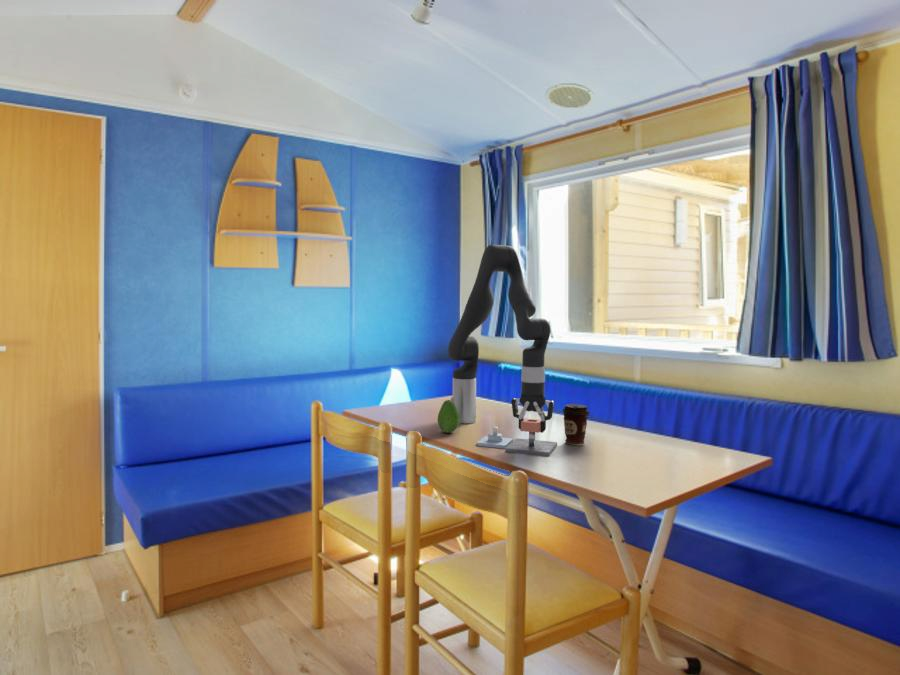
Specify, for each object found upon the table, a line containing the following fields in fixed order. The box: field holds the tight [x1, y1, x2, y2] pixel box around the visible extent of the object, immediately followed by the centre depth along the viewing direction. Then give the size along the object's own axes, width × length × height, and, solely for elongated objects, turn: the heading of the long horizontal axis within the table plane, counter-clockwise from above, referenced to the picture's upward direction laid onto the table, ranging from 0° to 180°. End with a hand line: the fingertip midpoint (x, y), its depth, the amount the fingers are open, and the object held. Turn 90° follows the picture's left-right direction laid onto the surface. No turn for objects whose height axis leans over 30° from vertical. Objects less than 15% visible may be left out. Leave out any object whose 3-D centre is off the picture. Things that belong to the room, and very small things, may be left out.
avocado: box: [437, 399, 460, 434], centre depth 221 cm, size 8×8×12 cm
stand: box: [475, 426, 514, 449], centre depth 206 cm, size 10×10×6 cm
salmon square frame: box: [520, 417, 541, 434], centre depth 199 cm, size 6×6×3 cm
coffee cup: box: [562, 403, 590, 447], centre depth 207 cm, size 9×8×13 cm
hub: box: [504, 432, 558, 457], centre depth 200 cm, size 14×14×7 cm
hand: (532, 431), depth 200 cm, fingers closed on salmon square frame, 6 cm apart
